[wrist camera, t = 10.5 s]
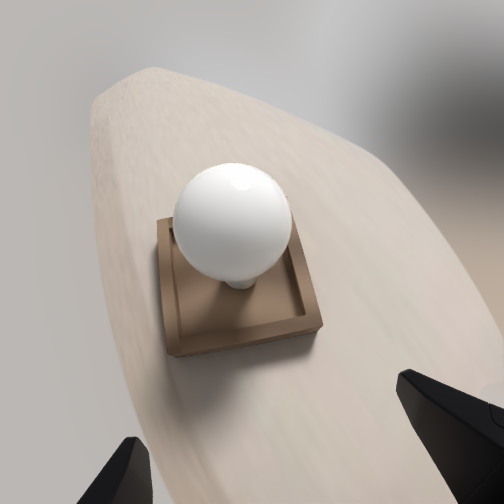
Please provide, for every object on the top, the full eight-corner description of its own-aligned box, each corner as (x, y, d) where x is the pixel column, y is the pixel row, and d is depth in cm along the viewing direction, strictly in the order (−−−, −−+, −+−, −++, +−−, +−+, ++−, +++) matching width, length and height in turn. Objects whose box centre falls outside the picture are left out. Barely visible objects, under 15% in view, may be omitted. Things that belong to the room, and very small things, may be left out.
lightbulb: (295, 258, 24) (317, 163, 14) (259, 330, 21) (257, 274, 12) (225, 227, 25) (205, 126, 15) (185, 292, 23) (132, 214, 13)
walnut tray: (317, 330, 22) (323, 325, 20) (176, 357, 22) (167, 354, 20) (284, 210, 27) (286, 195, 25) (164, 233, 26) (156, 220, 24)
